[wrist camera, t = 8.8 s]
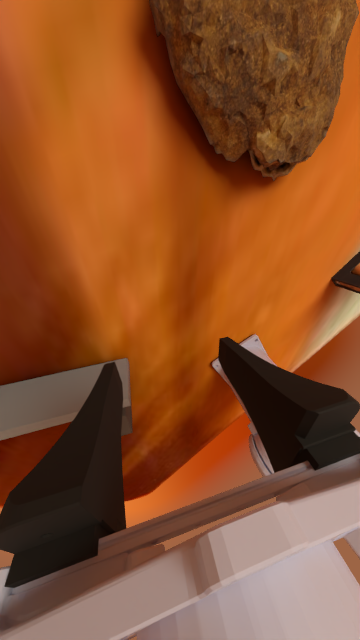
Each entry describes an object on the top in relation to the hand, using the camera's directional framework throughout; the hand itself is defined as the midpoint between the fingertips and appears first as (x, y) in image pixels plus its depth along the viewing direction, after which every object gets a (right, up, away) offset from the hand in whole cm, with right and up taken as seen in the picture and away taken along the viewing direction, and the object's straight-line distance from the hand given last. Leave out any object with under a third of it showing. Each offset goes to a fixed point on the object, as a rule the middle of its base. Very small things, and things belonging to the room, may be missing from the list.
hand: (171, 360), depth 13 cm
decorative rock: (+6, +21, +1) cm, 22 cm away
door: (-13, -3, +10) cm, 16 cm away
